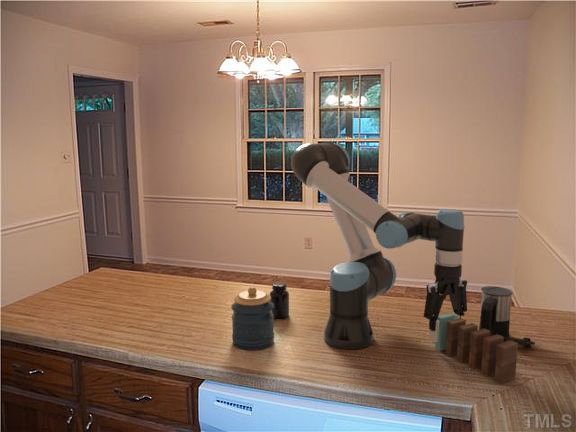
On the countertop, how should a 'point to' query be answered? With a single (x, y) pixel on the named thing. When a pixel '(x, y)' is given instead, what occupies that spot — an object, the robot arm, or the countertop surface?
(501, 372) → the domino
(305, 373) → the countertop surface
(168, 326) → the countertop surface
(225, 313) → the countertop surface
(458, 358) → the domino
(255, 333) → the canister
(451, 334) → the domino
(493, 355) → the domino
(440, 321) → the domino
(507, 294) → the milk frother
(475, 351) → the domino
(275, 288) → the supplement bottle
